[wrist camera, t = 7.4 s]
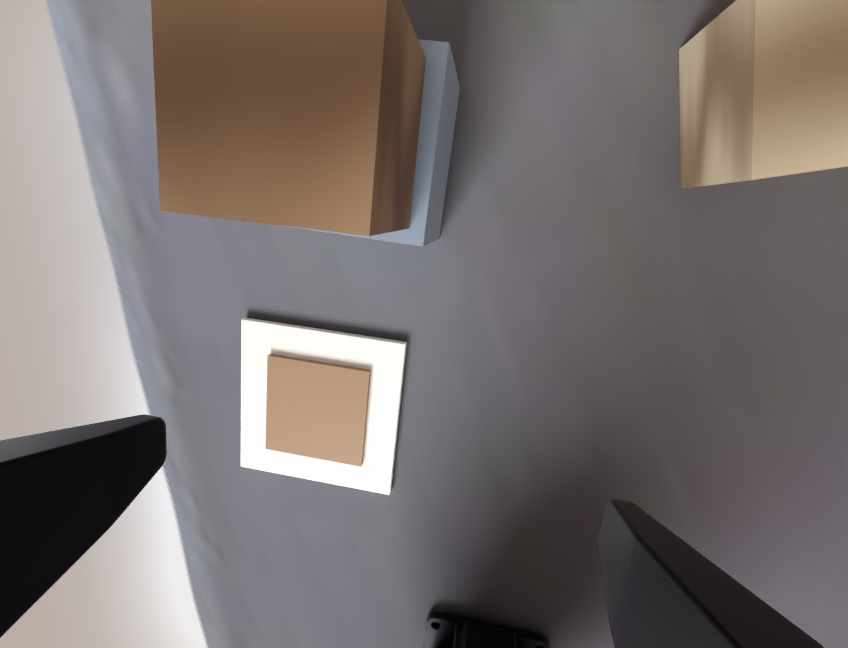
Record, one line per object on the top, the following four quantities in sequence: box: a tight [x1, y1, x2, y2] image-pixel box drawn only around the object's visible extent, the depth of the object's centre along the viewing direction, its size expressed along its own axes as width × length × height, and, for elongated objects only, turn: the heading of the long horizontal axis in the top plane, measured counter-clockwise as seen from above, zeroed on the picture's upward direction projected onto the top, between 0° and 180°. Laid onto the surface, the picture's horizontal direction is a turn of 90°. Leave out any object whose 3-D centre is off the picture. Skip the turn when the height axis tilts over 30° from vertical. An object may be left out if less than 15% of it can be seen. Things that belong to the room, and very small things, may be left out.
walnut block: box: [151, 0, 426, 236], centre depth 12 cm, size 5×5×5 cm
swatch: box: [241, 318, 407, 495], centre depth 22 cm, size 8×8×1 cm
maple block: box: [679, 0, 848, 189], centre depth 14 cm, size 5×5×5 cm
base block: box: [273, 39, 460, 246], centre depth 17 cm, size 6×6×5 cm
